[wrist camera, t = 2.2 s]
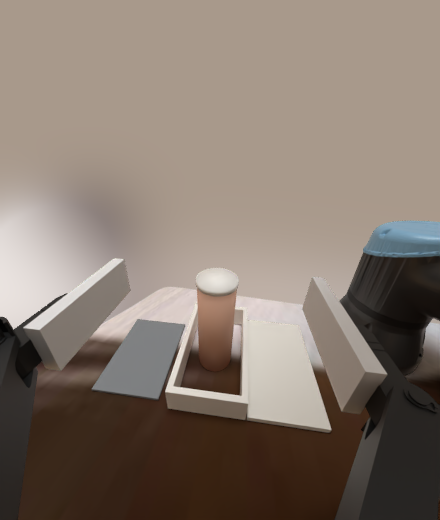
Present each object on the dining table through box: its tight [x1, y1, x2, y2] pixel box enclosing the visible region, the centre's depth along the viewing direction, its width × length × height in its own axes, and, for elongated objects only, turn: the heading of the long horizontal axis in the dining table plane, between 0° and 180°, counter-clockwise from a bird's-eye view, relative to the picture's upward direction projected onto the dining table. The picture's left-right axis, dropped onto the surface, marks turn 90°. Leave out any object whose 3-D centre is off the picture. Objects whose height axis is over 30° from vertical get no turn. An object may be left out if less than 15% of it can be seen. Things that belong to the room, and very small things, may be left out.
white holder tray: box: [165, 303, 331, 433], centre depth 33 cm, size 21×18×4 cm
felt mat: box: [92, 319, 185, 400], centre depth 35 cm, size 10×14×1 cm
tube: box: [196, 268, 239, 372], centre depth 31 cm, size 6×6×16 cm
